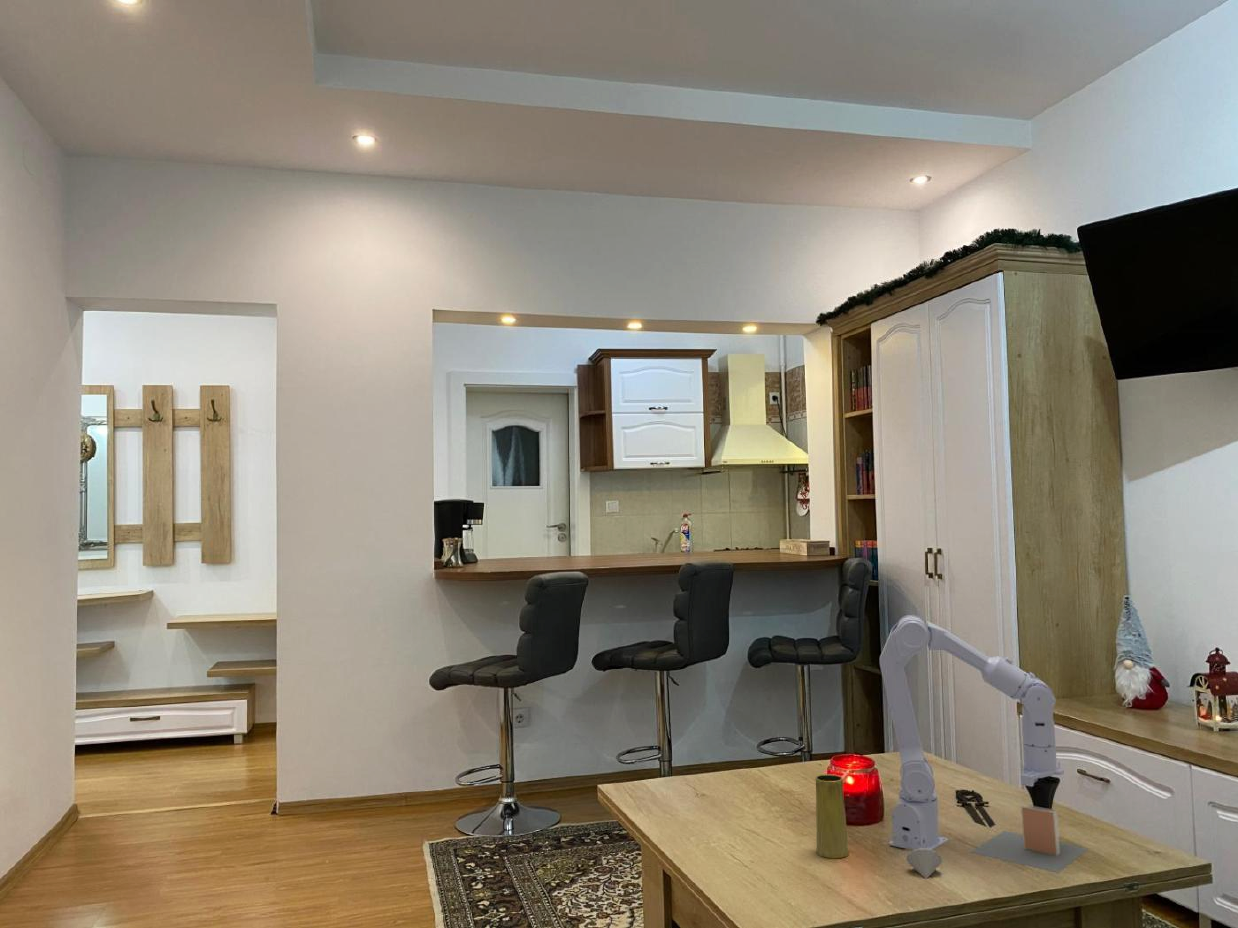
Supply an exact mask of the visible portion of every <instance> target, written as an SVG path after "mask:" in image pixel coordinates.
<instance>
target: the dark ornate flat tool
mask: <svg viewBox="0 0 1238 928" xmlns="http://www.w3.org/2000/svg"><path fill="white" fill-rule="evenodd" d="M969 796H970V797H969ZM955 798H956V806H957V807H962V808H965V810H966V811H967V812H968V814H969V816H970V818H972V821H974V823H975V824H979V825H982V826H984V827H987V826H988V827H989V828H990V829H992V828H993V827H995V826H996V825H997V824H996V823H995V821H994V820H993V819H992V817H991V816H990V815H989V813H988V812H987V810H986V808H989V804H990V802H989V801H983V800H984V799H983V796H982V795H981V794H980V793H979V792H976V791H975V790H974V789H973V790H972V789H971V790H968V789H956V790H955ZM976 800H977V801H978V802H976ZM972 802H973V803H974V806H973V804H972ZM978 812H979V813H978ZM980 815H981V816H980ZM984 821H985V822H986V823H985V822H984ZM986 824H987V825H986Z"/></svg>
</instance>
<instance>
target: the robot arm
mask: <svg viewBox="0 0 1238 928" xmlns="http://www.w3.org/2000/svg"><path fill="white" fill-rule="evenodd" d="M926 647H928V650H929V651H945V652H947V653H948V654H951V655H952V656H954V657H956V658H957V659H958V660H961V661H963V662H964V663H966V664H967V665H969V666H971V667H973V668H975V669H976V670H978V671H980V672H981V673H980V674H981V678H982V680H983V681H984V682H985V683H987V684H988V685H989V686H991V687H993V688H995V689H996V690H998V691H1000V692H1001V693H1003V694H1004V695H1006V696H1008V697H1009V698H1011V699H1013V700H1019V702H1020V703H1021V704H1022V705H1021V714H1022V717H1021V731H1022V733H1021V735H1022V749H1023V750H1022V751H1023V752H1022V753H1023V766H1022V773H1021V774H1020V785H1021V786H1024V787H1025V789H1026V790H1027V792H1028V795H1029V796H1030V799H1031V802H1032V806H1037V807H1042V808H1047V809H1053V805H1054V798H1055V795H1056V791H1057V790H1058V788H1059V785H1060V783H1061V778H1059V777H1057V776H1062V775H1064V773H1065V772H1064V769H1061V766H1060V760H1057V751H1056V749H1057V748H1056V747H1057V746H1056V733H1055V732H1056V730H1055V720H1054V711H1053V709H1054V708H1055V705H1056V704H1057V703H1056V701H1057V699H1056V698H1055V694H1054V692H1053V690H1052V689H1051V688H1050V687H1049V686H1048V685H1047V684H1046V683H1045V682H1044V681H1042V680H1041V678H1038V677H1036V675H1035V674H1034V673H1033V672H1031V671H1030V672H1029V673H1028V672H1026V671H1025V670H1023V669H1021V668H1019V666H1017V665H1014V664H1013V660H1012V659H1010V658H1009V657H1007V656H1005V657H1004V658H1003V657H1001V656H999V655H996V656H992V657H991V656H990V657H989V656H987V655H985V654H984V653H982V652H981V651H980V650H977V649H976V648H975V647H973V646H971V645H970V644H968V643H967V642H965V641H964V640H962V639H960V638H959V637H957V636H956V635H955V634H953V633H951V631H948V630H946V629H945V628H943V627H941V626H939V625H937V624H935V623H933V622H930V621H928V620H927V622H926V621H925V620H924V619H923V618H922V617H920V616H918V615H914V614H909V615H908V614H907V615H904V616H903V617H901V618H900V619H899V620H898V621H897V622H896V624H894V625H893V627H892V628H891V629H890V632H889V635H888V637H887V639H886V642H885V644H884V647H883V649H882V651H881V654H880V655H879V668H880V672H881V675H882V680H883V685H884V689H885V695H886V699H887V703H888V707H889V712H890V717H891V720H892V724H893V725H892V726H893V729H894V733H895V739H896V742H897V743H896V744H897V747H898V752H899V758H900V765H901V767H900V769H899V772H900V777H901V778H900V787H901V789H900V790H899V791H898V803H897V804H896V805H895V806H894V807H893V809H892V812H891V827H892V828H891V829H892V840H890V841H888V845H889V846H894V847H897V848H901V849H905V850H911V851H913V850H916V849H920V848H926V849H930V850H933V851H934V849H936V848H938V847H939V846H941V845H943V844H944V843H946V842H949V839H948V838H946V837H941V836H940V826H939V806H938V794H937V793H936V792H935V790H936V789H935V788H936V785H935V784H936V783H935V780H934V777H933V776H934V771H933V768H932V766H931V765H932V764H930V763H929V761H928V760H927V759H926V757H925V754H924V749H923V746H922V745H923V744H922V742H921V738H920V733H919V729H918V723H917V721H916V715H915V711H914V710H915V709H914V707H913V701H912V698H911V693H910V689H909V684H908V680H907V676H906V671H905V666H906V665H908V663H909V662H910V660H911V659H912V658H913V656H915V655H916V654H918V653H919V652H921V651H922V650H924V649H925V648H926Z"/></svg>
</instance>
